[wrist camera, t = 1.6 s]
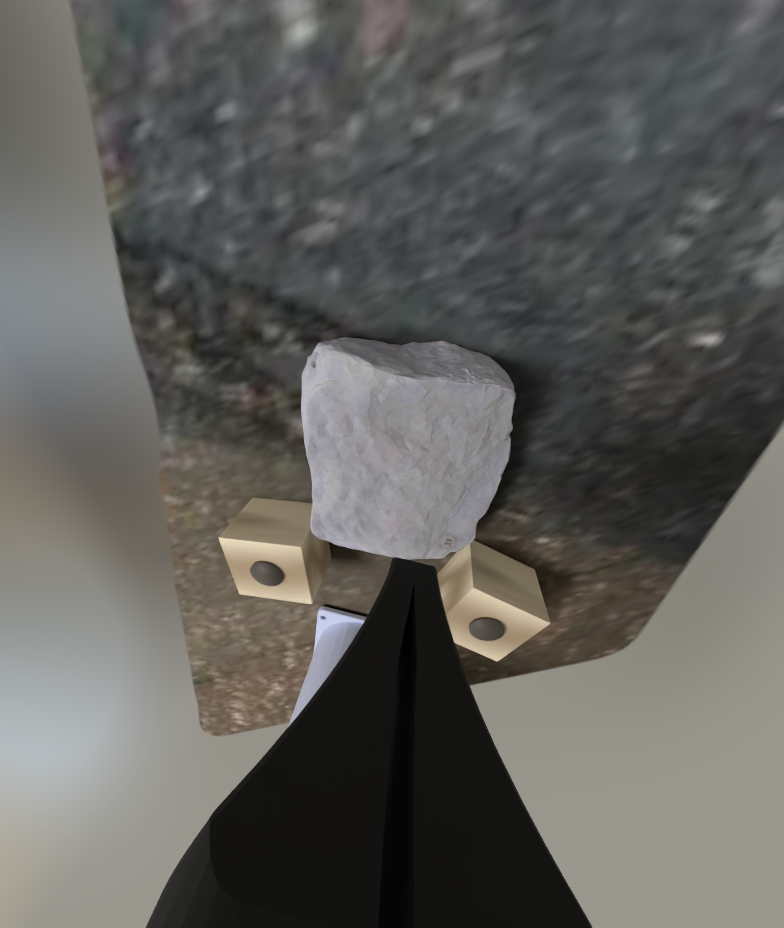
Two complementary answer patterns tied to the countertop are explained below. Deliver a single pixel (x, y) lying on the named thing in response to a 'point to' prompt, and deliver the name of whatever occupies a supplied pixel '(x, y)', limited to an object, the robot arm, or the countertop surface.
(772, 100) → the countertop surface
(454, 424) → the stone block
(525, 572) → the beech block
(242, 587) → the beech block
